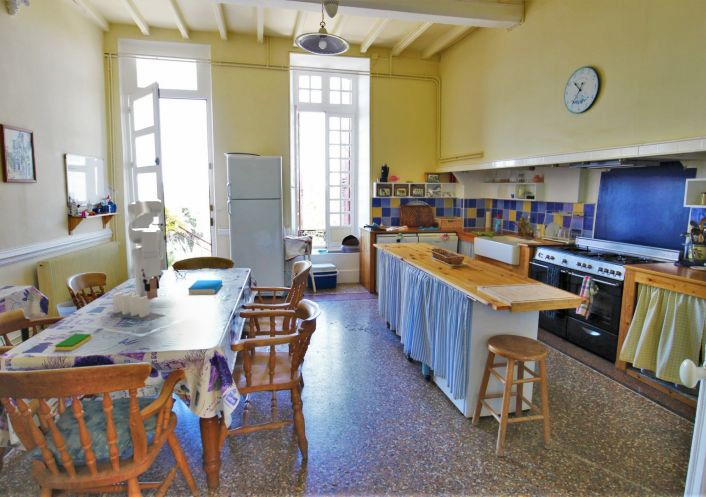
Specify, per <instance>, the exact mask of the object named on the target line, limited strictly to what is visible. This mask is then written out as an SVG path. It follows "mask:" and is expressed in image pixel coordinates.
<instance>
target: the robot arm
mask: <svg viewBox="0 0 706 497" xmlns="http://www.w3.org/2000/svg"><path fill="white" fill-rule="evenodd" d="M127 212H128V214H129V216H130V218H131V221H130V222H129V224H128V230H127V231H128V232H127V233H128V238H129V241H130V242H131V243H132V244H136V245H137V244H138V245H137V246H134V247H132V250H131V257H132V262H133V269H134V270H133V271H134V286H135V287H134V288H133V289H132V290H131V293H134V294H133V295H132V296H135V295H140V298H141V297H144V296H147V291H150V284H149V280H150V279H151V278H157V290H159V289H160V281H161V278H162V276H163V275H164V272H163V270H162V262H161V261H162V260H163V259H164V254H165V252H164V233H163V231H162V229H160V228H158V227H157V228H156V227H155V228H154V227H151V228H150V225H152V224H153V223H154V219H155V218H160V217H161V216H162V215H163V213H164V205H163V202H162V200H161V199H150V198H149V199H148V198H147V199H138V200H136V201H135V202H130V203H128V204H127Z"/></svg>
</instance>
